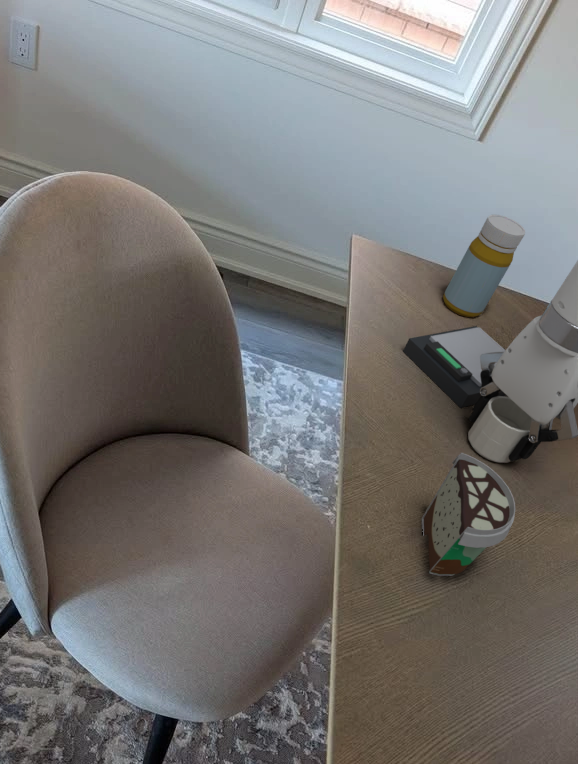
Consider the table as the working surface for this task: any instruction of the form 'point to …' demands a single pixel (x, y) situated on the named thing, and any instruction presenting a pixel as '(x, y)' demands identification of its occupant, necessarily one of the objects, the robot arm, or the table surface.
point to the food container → (466, 515)
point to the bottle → (483, 266)
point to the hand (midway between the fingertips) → (496, 437)
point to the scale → (454, 361)
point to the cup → (499, 429)
